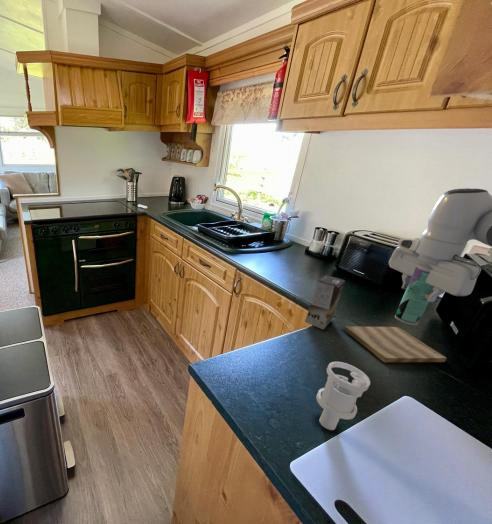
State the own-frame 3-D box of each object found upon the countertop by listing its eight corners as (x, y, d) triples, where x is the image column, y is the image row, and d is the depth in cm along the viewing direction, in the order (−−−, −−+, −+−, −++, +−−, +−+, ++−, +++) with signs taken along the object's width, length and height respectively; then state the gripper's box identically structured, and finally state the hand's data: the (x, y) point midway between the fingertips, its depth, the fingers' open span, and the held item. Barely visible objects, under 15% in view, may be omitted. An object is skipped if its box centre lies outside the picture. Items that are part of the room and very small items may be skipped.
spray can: (417, 320, 86) (447, 257, 79) (418, 327, 82) (449, 262, 75) (394, 313, 90) (420, 252, 82) (394, 320, 86) (421, 257, 78)
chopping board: (396, 330, 100) (397, 326, 100) (444, 362, 86) (447, 358, 85) (343, 329, 98) (345, 326, 98) (384, 362, 83) (386, 358, 83)
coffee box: (324, 330, 97) (339, 287, 91) (303, 322, 101) (317, 280, 95) (331, 321, 103) (346, 280, 97) (312, 313, 107) (325, 274, 101)
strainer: (323, 439, 59) (347, 383, 53) (302, 410, 65) (322, 357, 60) (354, 438, 60) (382, 382, 54) (330, 409, 66) (352, 356, 61)
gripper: (495, 264, 68) (467, 314, 74) (412, 238, 87) (395, 280, 92) (472, 263, 68) (445, 314, 73) (394, 238, 87) (377, 279, 92)
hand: (416, 294), depth 83 cm, fingers closed on spray can, 5 cm apart
